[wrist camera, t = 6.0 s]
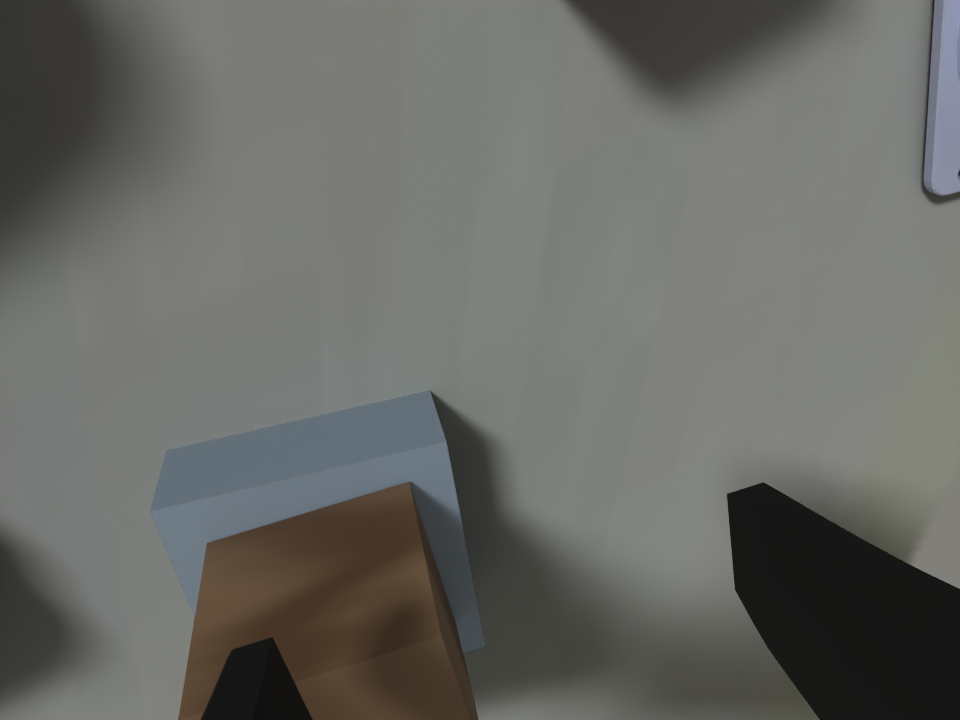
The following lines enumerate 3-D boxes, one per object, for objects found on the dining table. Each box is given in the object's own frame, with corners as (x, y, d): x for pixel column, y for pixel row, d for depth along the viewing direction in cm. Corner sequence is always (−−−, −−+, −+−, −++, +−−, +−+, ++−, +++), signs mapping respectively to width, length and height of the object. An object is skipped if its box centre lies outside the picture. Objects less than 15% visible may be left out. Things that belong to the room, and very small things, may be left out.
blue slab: (428, 384, 22) (446, 441, 19) (465, 575, 25) (485, 647, 22) (168, 443, 21) (150, 511, 18) (242, 632, 24) (235, 714, 21)
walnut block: (409, 481, 19) (441, 635, 15) (455, 623, 22) (495, 792, 17) (206, 543, 19) (178, 720, 14) (277, 680, 21) (271, 868, 17)
